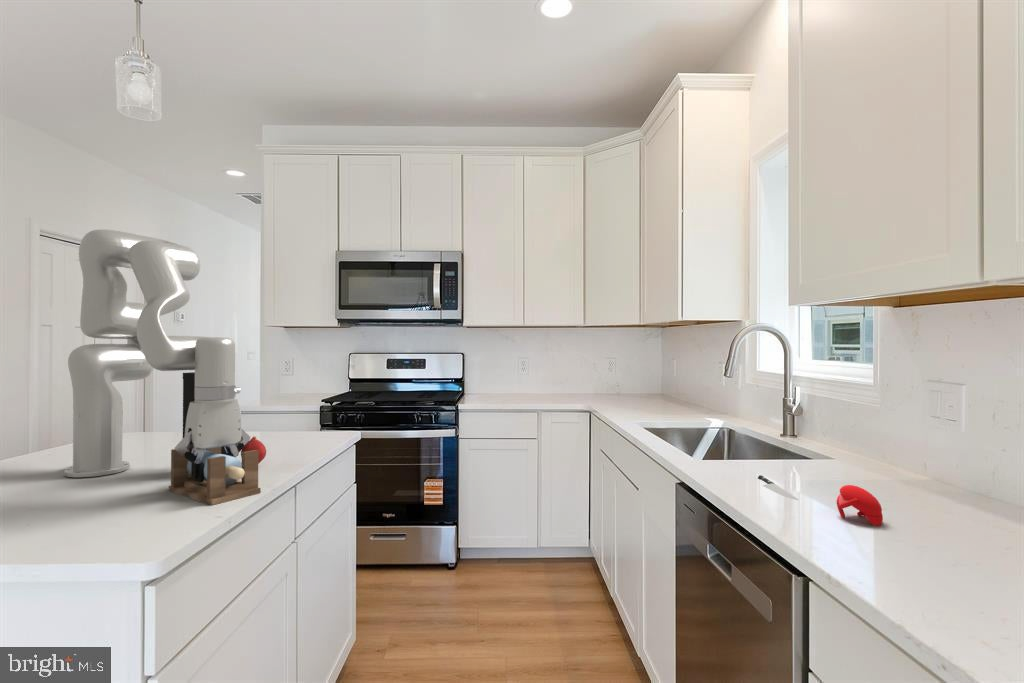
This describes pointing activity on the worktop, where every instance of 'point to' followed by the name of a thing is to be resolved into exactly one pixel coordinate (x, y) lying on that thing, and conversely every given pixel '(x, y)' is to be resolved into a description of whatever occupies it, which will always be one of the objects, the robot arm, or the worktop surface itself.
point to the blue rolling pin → (232, 467)
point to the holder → (214, 478)
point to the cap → (860, 503)
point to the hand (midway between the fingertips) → (214, 477)
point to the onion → (255, 448)
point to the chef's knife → (776, 488)
